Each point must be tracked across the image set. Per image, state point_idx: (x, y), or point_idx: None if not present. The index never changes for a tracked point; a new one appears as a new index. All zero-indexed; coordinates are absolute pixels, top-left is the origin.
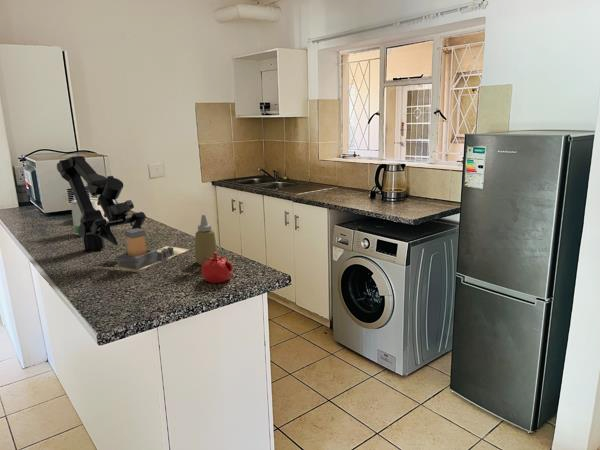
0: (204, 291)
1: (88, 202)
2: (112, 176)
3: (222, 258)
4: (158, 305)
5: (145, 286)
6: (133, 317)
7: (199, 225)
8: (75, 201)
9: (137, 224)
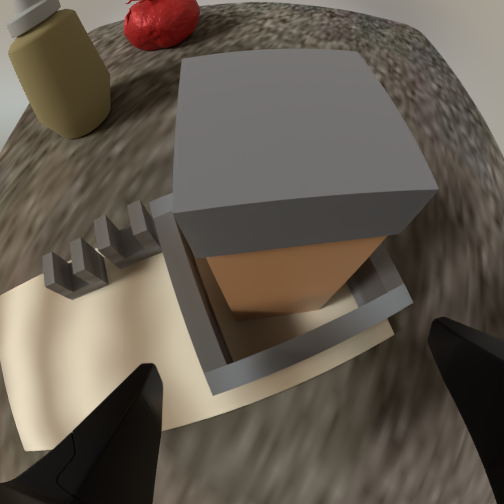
0: (228, 17)
1: None
2: None
3: (137, 3)
4: (329, 20)
5: None
6: (375, 22)
7: (36, 4)
8: None
9: (52, 502)
